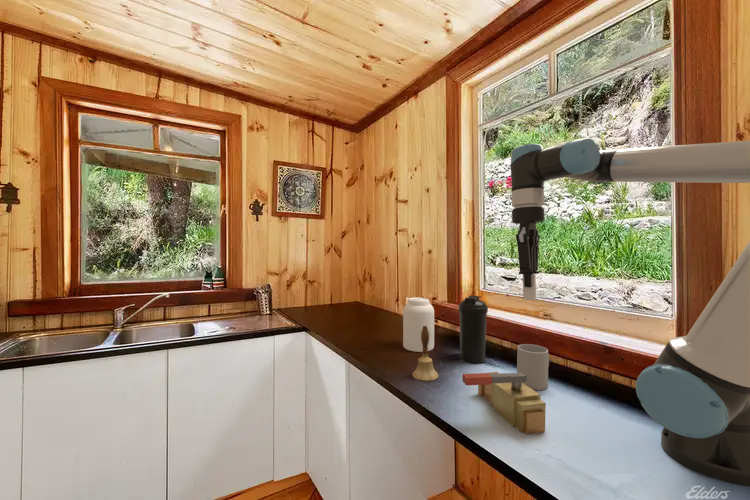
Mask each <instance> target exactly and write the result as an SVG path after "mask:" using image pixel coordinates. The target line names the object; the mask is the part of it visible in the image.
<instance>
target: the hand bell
mask: <svg viewBox="0 0 750 500" xmlns="http://www.w3.org/2000/svg"><path fill="white" fill-rule="evenodd" d="M421 341H422V344H423V352H421V353H422V356H421V357H419V358H418V359H417V366H416V369H415V370H414V371H413V372H412V375H411V376H412V377H413V379H416V380H418V381H422V382H431V381H435V380H438V378H439V373H438V372H437V371H436V370H435V368H434V363H433V359H432V358H431V357H429V353H428V352H429V351H428V342H429V332H428V328H427V326H423V329H422V332H421Z"/></svg>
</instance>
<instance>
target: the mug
mask: <svg viewBox="0 0 750 500" xmlns="http://www.w3.org/2000/svg"><path fill="white" fill-rule="evenodd" d="M516 351H517V352H516V353H517V354H516V355H517V356H516V362H517V363H516V373H523V374H525V375H526V376H527V382H522V383H523V384H525V385H526V386H528V387H529V388H531V389H532V390H534V391H545V390H547V389H548V387H549V366H550V356H549V355H550V354H549V350H548V348H546V347H544V346H541V345H537V344H531V343H523V344H519V345H517V350H516Z"/></svg>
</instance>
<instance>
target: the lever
mask: <svg viewBox="0 0 750 500" xmlns="http://www.w3.org/2000/svg"><path fill="white" fill-rule="evenodd" d="M488 373H489V372H482V373H481V372H479V373H462V382H463V384H464V385H465V386H478V385H491V384H492V383H511V388H512V389H513V390H515V391H521V390H522V382H527V376H526V375H525V374H523V373H517V372H505V373H504V372H503V373H499V374H488Z"/></svg>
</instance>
